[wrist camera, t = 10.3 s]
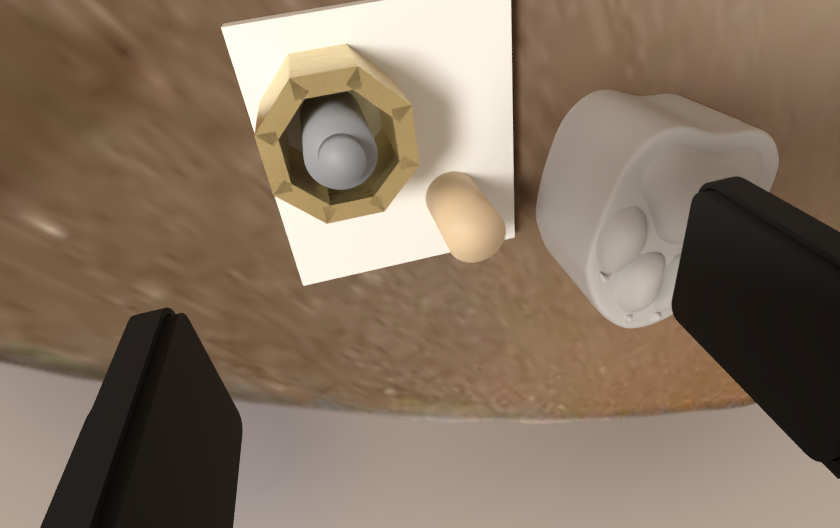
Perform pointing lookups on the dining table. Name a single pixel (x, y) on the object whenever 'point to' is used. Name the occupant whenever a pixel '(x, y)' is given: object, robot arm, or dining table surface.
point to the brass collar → (286, 164)
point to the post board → (360, 123)
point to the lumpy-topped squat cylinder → (637, 193)
